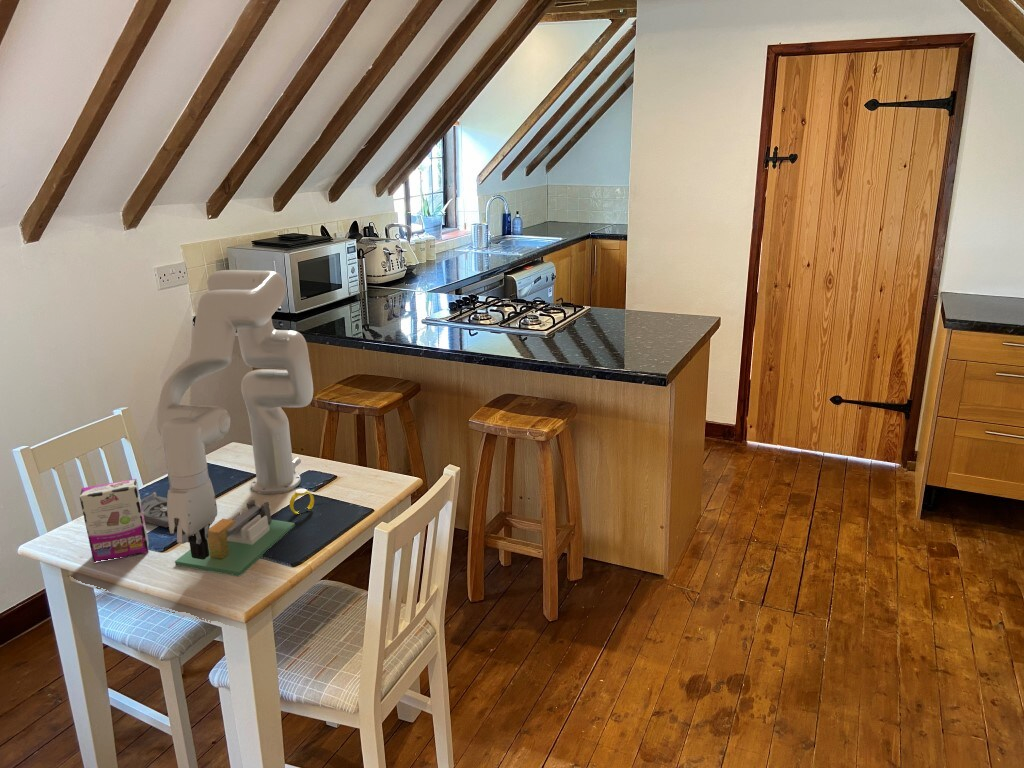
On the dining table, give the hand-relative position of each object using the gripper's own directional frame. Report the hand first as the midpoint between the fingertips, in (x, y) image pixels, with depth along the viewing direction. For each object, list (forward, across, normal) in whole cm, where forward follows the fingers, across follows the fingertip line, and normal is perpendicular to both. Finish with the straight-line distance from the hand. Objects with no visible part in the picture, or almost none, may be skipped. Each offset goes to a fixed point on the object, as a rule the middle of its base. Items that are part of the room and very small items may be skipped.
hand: (200, 556), depth 164 cm
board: (+4, -12, 0) cm, 13 cm away
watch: (+4, -30, +6) cm, 31 cm away
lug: (+3, -7, 0) cm, 8 cm away
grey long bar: (-1, -15, 0) cm, 15 cm away
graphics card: (+5, -18, -25) cm, 32 cm away
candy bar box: (+4, -2, -23) cm, 24 cm away
